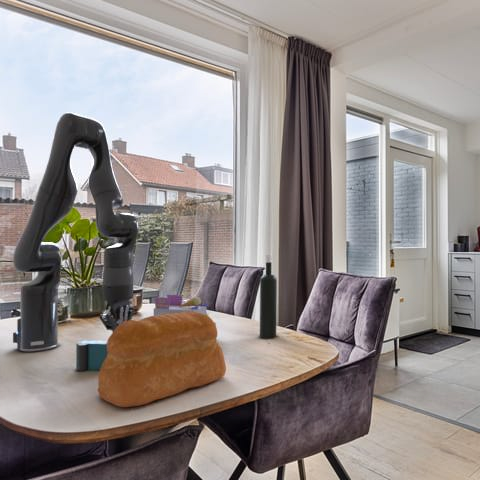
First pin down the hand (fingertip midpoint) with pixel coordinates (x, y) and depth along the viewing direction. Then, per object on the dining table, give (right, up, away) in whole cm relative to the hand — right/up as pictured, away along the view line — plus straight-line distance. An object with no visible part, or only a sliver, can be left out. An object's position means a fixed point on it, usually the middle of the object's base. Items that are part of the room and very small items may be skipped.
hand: (118, 343), depth 117 cm
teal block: (0, -5, -6) cm, 8 cm away
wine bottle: (+36, -5, +29) cm, 47 cm away
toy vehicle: (+9, -5, +23) cm, 26 cm away
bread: (+23, -6, -19) cm, 30 cm away
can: (+4, -5, +33) cm, 33 cm away
